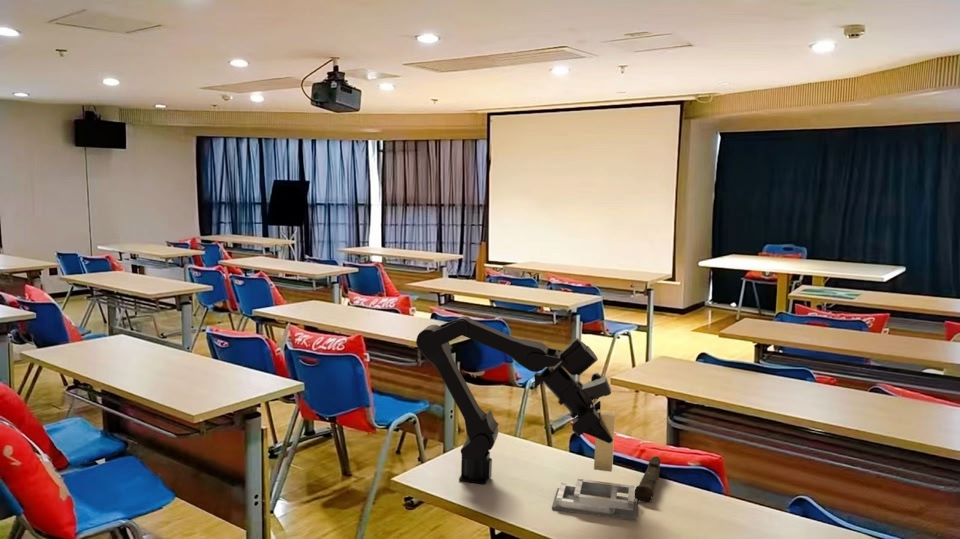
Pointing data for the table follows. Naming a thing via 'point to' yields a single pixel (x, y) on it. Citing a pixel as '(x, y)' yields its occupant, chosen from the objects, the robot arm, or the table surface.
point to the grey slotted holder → (595, 496)
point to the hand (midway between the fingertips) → (610, 438)
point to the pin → (605, 443)
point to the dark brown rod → (648, 481)
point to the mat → (618, 513)
